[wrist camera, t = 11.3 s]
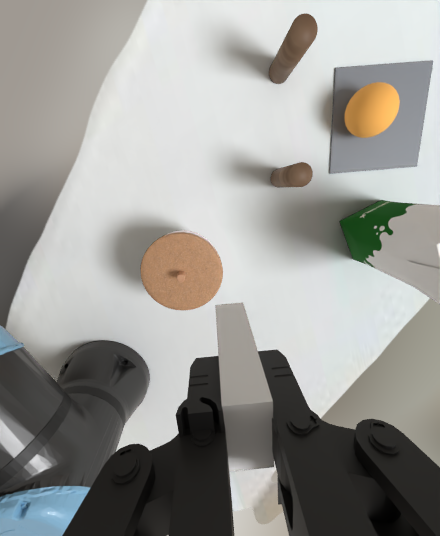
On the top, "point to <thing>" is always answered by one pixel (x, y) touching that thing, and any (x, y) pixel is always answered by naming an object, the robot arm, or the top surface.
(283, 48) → the post
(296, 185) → the post
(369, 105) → the ball
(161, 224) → the top surface
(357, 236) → the milk carton
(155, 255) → the lidded jar
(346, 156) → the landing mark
